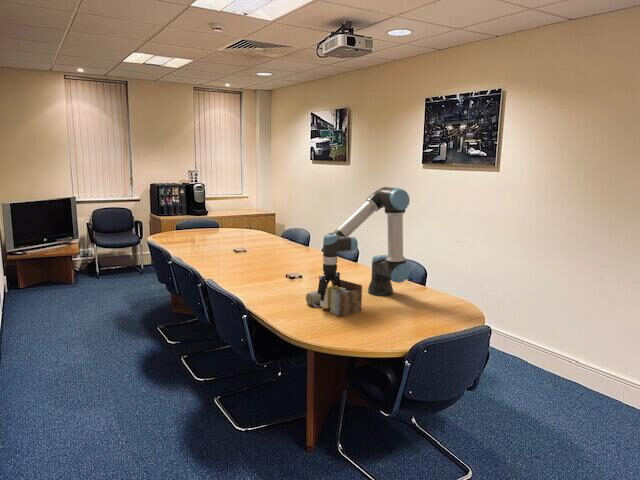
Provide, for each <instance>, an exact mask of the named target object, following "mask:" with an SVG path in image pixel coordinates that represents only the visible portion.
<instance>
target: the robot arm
mask: <svg viewBox="0 0 640 480" xmlns="http://www.w3.org/2000/svg"><path fill="white" fill-rule="evenodd" d="M410 200H411V199H410V195H409V194H408V191H406V190H405V189H403V188H400V187H389V186H388V187H387V186H384V187H381V188H378V189H377V190H375V191H374V192H372V193H371V195H369V196H368V197H367V198H366V199H365V202H364V203H363V204H362V205H361V206H360V207H359V208H358V209H357V210H356V211H354V213H352V215H350V216H349V217H348V218H347V219H346V220H345V221H344V222H343V223H342V224H341V225H340V226H339V227H338V228H337V229H335V230H334V232H329V233H326V234H325V235H324V236H323V239H322V240H323V242H322V243H323V244H322V245H323V248H322V249H323V251H322V252H323V253H322V263H323V264H322V271H323V274H322V275H319V276H318V277H319V278H318V279H319V282H318V288H317V291H318V294H320V295H321V299H320V300H321V306H323V307H322V308H324V307H326V295H325V292H326V288H327V285H329V283H330V282H331V283H330V284H332V285H335V286H338V288H339V287H341V286H340V280H341V278H340V276H341V272H338V265H337V264H338V253H341V252H342V253H343V252H353V251H356V250H357V249H358V247H359V246H358V245H359V244H358V242H359V241H358V240H357V238H356V237H355V236H350V235H352V233H354V232H355V231H356V230H357V229H358V228H359V227H360V226H362V224H363V223H364V222H365V221H366V220H367V219H369V217H371V216H372V215H373V214H374V213H375V212H378V211H379V210H381V209H382V208H384V213H385V215H387V216H386V217H387V255H386V254H384V255H383V254H381V255H375V256H373V257H372V260H371V281H370V283H369V285H368V288H367V293H368V294H370V295H372V296H376V297H377V296H379V297H386V296H392V295H393V294H394V288H393V284H392V282H393V283H398V284H399V283H404V282H405V281H406V280H407V279H408V278H409V276H410V274H411V268H410V266H409V265H408V264H407V260H406V259H407V258H406V257H405V256H404V225H403V224H404V221H403V220H404V217H403V215H404V214H405V213H406V209H407V208H408V207H409V205H410V202H411V201H410Z"/></svg>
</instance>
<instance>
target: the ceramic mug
mask: <svg viewBox="0 0 640 480" xmlns="http://www.w3.org/2000/svg"><path fill="white" fill-rule="evenodd" d="M305 301H306V303H307V305H308V306H313V307H314V308H316V309H321V308H322V307H321V306H320V294H318V290H315V291H311V292H308V293H307V294H306V295H305Z"/></svg>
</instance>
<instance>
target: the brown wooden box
mask: <svg viewBox="0 0 640 480" xmlns="http://www.w3.org/2000/svg"><path fill="white" fill-rule="evenodd" d="M340 286H341V287H339V288H335V289H331V304H330V308H329V311H330V313H331V314H334V315H337V316H338V318H344V317H345V316H349V315H353V314H356V313H359V312H361V311H362V301H363V299H362V297H363V296H362V295H363V285H362V284H358V283H355V282H351V281H347V280H343V279H340Z"/></svg>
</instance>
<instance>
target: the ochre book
mask: <svg viewBox="0 0 640 480" xmlns="http://www.w3.org/2000/svg"><path fill="white" fill-rule="evenodd" d="M335 288H338V286H335V285H332V283H330V284H329V283H328V285H327V288H326V292H325V295H326V307H323V306H321V300H320V304H319V306H321V308H324V309H330V304H331V289H335ZM320 299H321V295H320Z"/></svg>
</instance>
